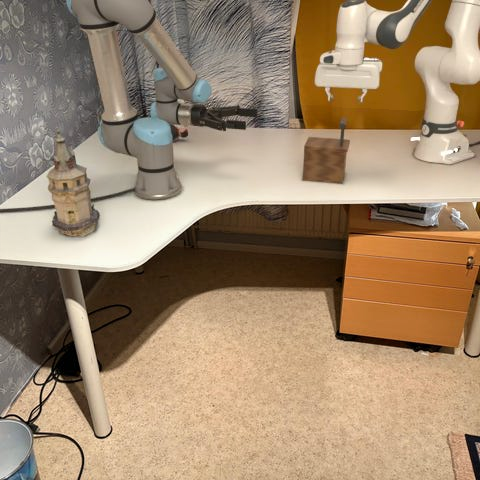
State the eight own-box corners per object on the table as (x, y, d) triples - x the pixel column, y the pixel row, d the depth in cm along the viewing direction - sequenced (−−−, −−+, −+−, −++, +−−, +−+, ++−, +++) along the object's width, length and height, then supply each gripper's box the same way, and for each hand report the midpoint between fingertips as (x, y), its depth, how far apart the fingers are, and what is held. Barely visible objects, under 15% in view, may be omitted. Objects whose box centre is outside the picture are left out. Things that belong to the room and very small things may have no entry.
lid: (349, 142, 184) (352, 116, 179) (347, 152, 176) (349, 125, 171) (308, 139, 187) (309, 114, 182) (304, 148, 179) (305, 122, 174)
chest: (344, 173, 189) (347, 142, 184) (342, 183, 181) (345, 152, 176) (306, 170, 193) (308, 139, 187) (302, 180, 184) (304, 149, 179)
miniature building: (80, 214, 164) (63, 117, 149) (111, 225, 157) (96, 125, 142) (44, 231, 154) (22, 130, 140) (75, 244, 147) (55, 139, 133)
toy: (130, 116, 235) (195, 116, 229) (132, 130, 238) (197, 130, 232) (105, 135, 213) (177, 135, 207) (108, 150, 216) (179, 151, 210)
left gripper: (206, 114, 200) (261, 118, 195) (180, 137, 180) (240, 142, 174) (205, 94, 197) (261, 98, 191) (178, 115, 176) (240, 119, 170)
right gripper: (383, 56, 166) (378, 100, 173) (317, 53, 171) (315, 97, 178) (383, 60, 161) (377, 105, 168) (315, 57, 165) (312, 102, 172)
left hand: (251, 119), depth 183 cm, fingers open, 13 cm apart
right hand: (345, 101), depth 173 cm, fingers open, 8 cm apart
